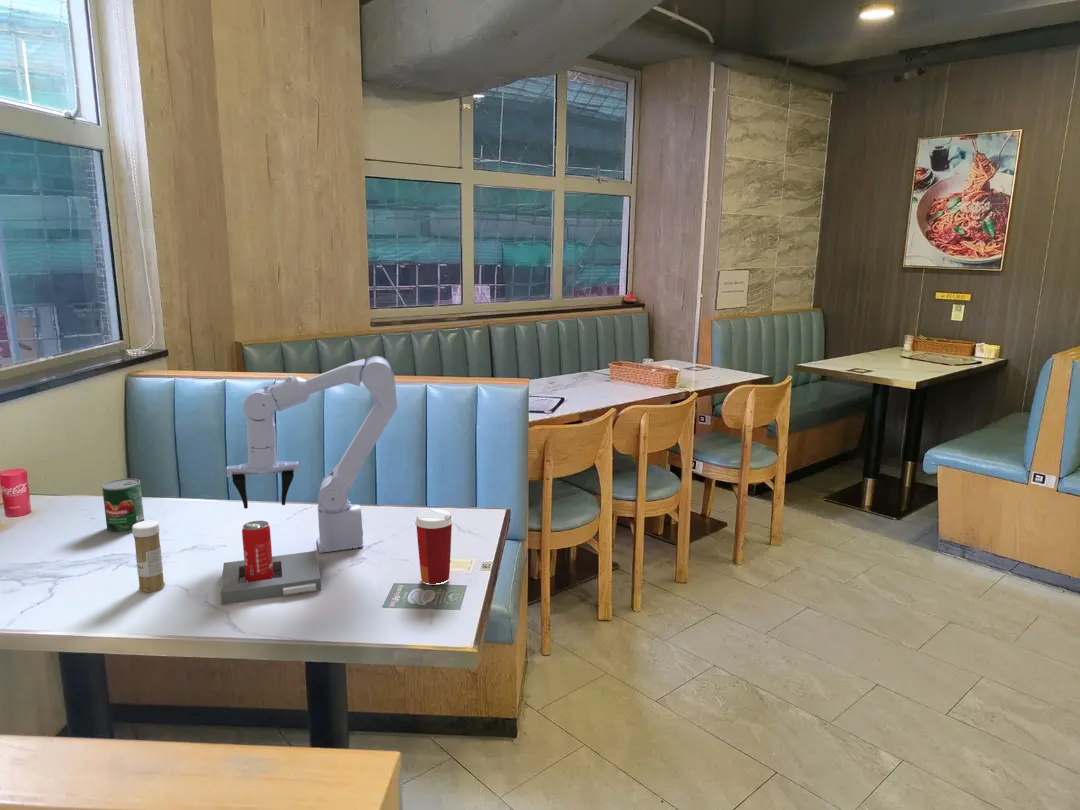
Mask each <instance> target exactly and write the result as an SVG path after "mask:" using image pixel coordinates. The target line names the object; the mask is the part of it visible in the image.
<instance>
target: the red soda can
mask: <svg viewBox="0 0 1080 810" xmlns="http://www.w3.org/2000/svg"><path fill="white" fill-rule="evenodd" d="M241 535H242V537H241V538H242V550H243V560H244V563H245V575H246V577H245V580H246V582H253V581H260V580H267V579H273V576H274V574H273V562H272V556H273V553H272V552H273V549H272V538H271V537H272V535H271V526H270V525H269V522H268V521H265V520H252V521H249V522H246V523H245V524H243V526H242V529H241Z"/></svg>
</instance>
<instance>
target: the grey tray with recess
mask: <svg viewBox="0 0 1080 810" xmlns="http://www.w3.org/2000/svg"><path fill="white" fill-rule="evenodd" d="M272 562H273V575H274V574H279V573H281V577H275V578H274V577H273V578H272V579H267V580H260V581H253V582H248V581H246V582H241V579H244V578H245V579H246V575H245V563H244V559H243V560H236V561H235V560H234V561H228V562H224V563H223V567H222V576H221V583H220V584H221V585H220V593H219V594H220V602H221V603H220V605H221V606H225V605H232V604H238V603H246V602H252V601H258V600H265V599H270V598H278V597H286V596H291V595H298V594H306V593H312V592H319V591H320V592H321V591H322V582H321V581H322V578H321V573H320V568H319V562H318V556H317V552H316V550H312V551H303V552H298V553H289V554H281V555H272Z"/></svg>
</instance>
